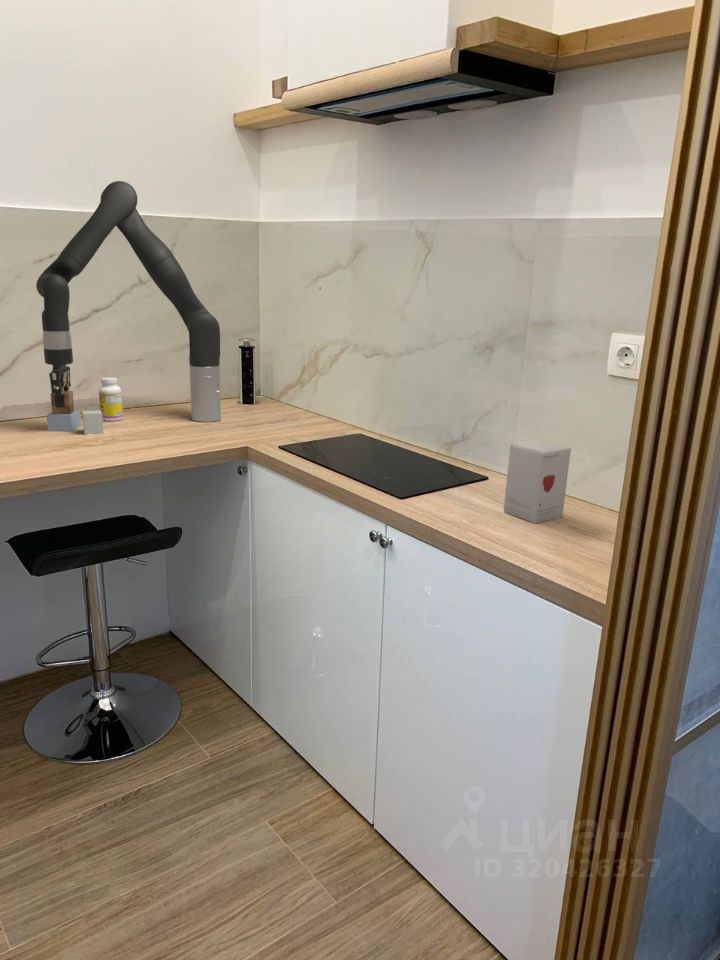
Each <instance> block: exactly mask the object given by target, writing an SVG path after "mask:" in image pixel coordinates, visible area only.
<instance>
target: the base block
mask: <svg viewBox="0 0 720 960" xmlns="http://www.w3.org/2000/svg"><path fill="white" fill-rule="evenodd" d="M46 423H47V432H63V433H64V432H68V433H73V432H74V430H75V431H76V430H78V429H79V427H80V428H81V427H82V419H81V410H75V409H74V412H73V413H72V414H52V411H51V412H49V413H47V414H46ZM77 428H78V429H77Z"/></svg>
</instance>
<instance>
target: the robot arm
mask: <svg viewBox="0 0 720 960" xmlns="http://www.w3.org/2000/svg"><path fill="white" fill-rule="evenodd" d="M137 205H138V194H137V192H136V189H135V188H134V186H132V185H131V184H130V183H128V182H126V181H122V180H116V181H112V182H111V183H109V184H108V185H106V187H105V188H104V189H103V191H102V192H101V194H100V202H99V204H98V206H97V208H96V209H95V211H94V212H93V214H92V215H91V216H90V217H89V219H88V220H87V221H86V223H84V225H83V226H82V227H81V228H80V229H79V230H78V231H77V232H76V234H74V236H73V237H72V238H71V239H70V240H69V242H68V243H67V245H66V246H65V247H64V248H63V250H62V251H61V252H60V254H58V256H57V258H56V259H55V260H54V261H52V263H51V264H50V265H49V266H47V268H46V269H45V270H44V271H43V272H41V274H40V275H39V276H38V278H37V280H36V283H35V284H36V285H35V286H36V291H37V293H38V294H39V295H40V296H41V297H42V298H43V311H42V312H41V322H42V324H41V325H42V345H43V356H44V363H45V364H46V365H52V370H51V372H49V373H48V374H49V382H50V389H51V391H50V392H51V393H54V394H55V403H56V407H57V408H63V407H64V395H63V393H64V391H70V387H71V386H72V385H71V367H70V366H67V365H71V364H73V363H74V357H73V356H74V355H73V354H74V353H73V345H72V344H73V342H72V337H71V336H72V335H71V331H70V329H71V327H70V319H69V309H70V296H71V295H70V286H69V283H70V282H71V281H72V280H73V278H75V277H77V276H79V275H80V274H81V273H82V272H84V271H83V270H84V269H85V268H86V266H87V265H88V264H89V263H90V261H91V260H92V259H93V258H94V256H95V255H96V253H97V252H98V250H99V248H101V246H102V245H103V243H104V242H105V240H106V238H107V237H108V236H109V234H110V233H111V232H112V230H114V229H115V228H117V229H118V230H119V231H120V232H121V234H122V235H123V236H124V238H125V239H126V241H127V242H128V244H129V245H130V247H131V249H132V250H133V251H134V253H135V255H136V256H137V258H138V260H139V262H140V263H141V265H142V267H144V269H145V270H146V272H147V274H148V275H149V277H150V278H151V280H152V281H153V282H154V284H155V285H156V286H157V288H158V289H159V290H160V291H161V293H163V295H164V296H165V297H166V299H168V300H169V301H170V303H171V304H172V305H173V306H174V308H175V309H176V311H177V313H178V314H179V316H180V318H181V319H182V321H183V323H184V325H185V327H186V329H187V331H188V338H189V339H188V342H189V345H188V346H189V355H188V356H189V357H188V360H189V361H188V362H189V386H190V387H189V389H190V415H191V417H190V418H191V421H196V422H201V423H202V422H203V423H204V422H205V423H209V422H218V421H219V422H220V421H221V420H222V394H221V393H222V392H221V391H222V390H221V389H222V388H221V371H220V370H221V367H220V366H221V364H220V362H221V361H220V360H221V328H220V323H219V322H218V321H219V320H217V318H216V317H215V316H213V315H212V313H211V312H209V310H208V309H207V308H206V307H205V306H204V305H203V303H202V302H201V301H200V299H199V297H197V295H196V293H195V292H194V290H193V288H192V285H191V284H190V281H189V280H188V277H187V275H186V273H185V272H184V270H183V268H182V266H181V264H180V263H179V261H178V260H177V258H176V256H174V255H175V254H173V253H172V251H171V250H170V248H169V247H168V246H167V245H166V244H165V243H164V242H163V241H162V239H160V237H158V236H157V235H156V234H155V233H154V232H153V231H152V230H151V229H150V228H149V227H148V225H147V224H146V222H145V221H144V220H143V218H142V216H141V214H140V212H139V211H138V209H137Z"/></svg>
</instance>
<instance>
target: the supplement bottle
mask: <svg viewBox="0 0 720 960" xmlns="http://www.w3.org/2000/svg"><path fill="white" fill-rule="evenodd" d="M100 382H101V386H100V387H99V388H98V397H99V399H98V400H99V410H101V412H102V420H103V421H104V420H105V421H104V422H117V420H118V421H121V420H123V419H124V413H123V396H122V395H123V394H122V388H121V387H120V386H119V385H118V378H117V377H102V378H101V379H100Z"/></svg>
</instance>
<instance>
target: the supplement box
mask: <svg viewBox="0 0 720 960" xmlns="http://www.w3.org/2000/svg"><path fill="white" fill-rule="evenodd" d="M571 450H572V447H569V446H566V445H563V444H557V443H553V442H550V441H547V440H543V439H532V440H525V441H520V442H514V443H510V446H509V457H508V458H509V459H508V464H507V465H508V466H507V473H506V474H507V475H506V483H505V484H506V485H505V493H504V504H503V512H505V513H507V514H509V515H512V516H515V517H517V518H520V519H522V520H526V521H528V522H531V523H533V524H538V523H543V522H547V521H550V520H555V519H558V518H562V517H563V516H564V506H565V498H566V493H567V484H568V476H569V467H570V459H571V452H572V451H571Z"/></svg>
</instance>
